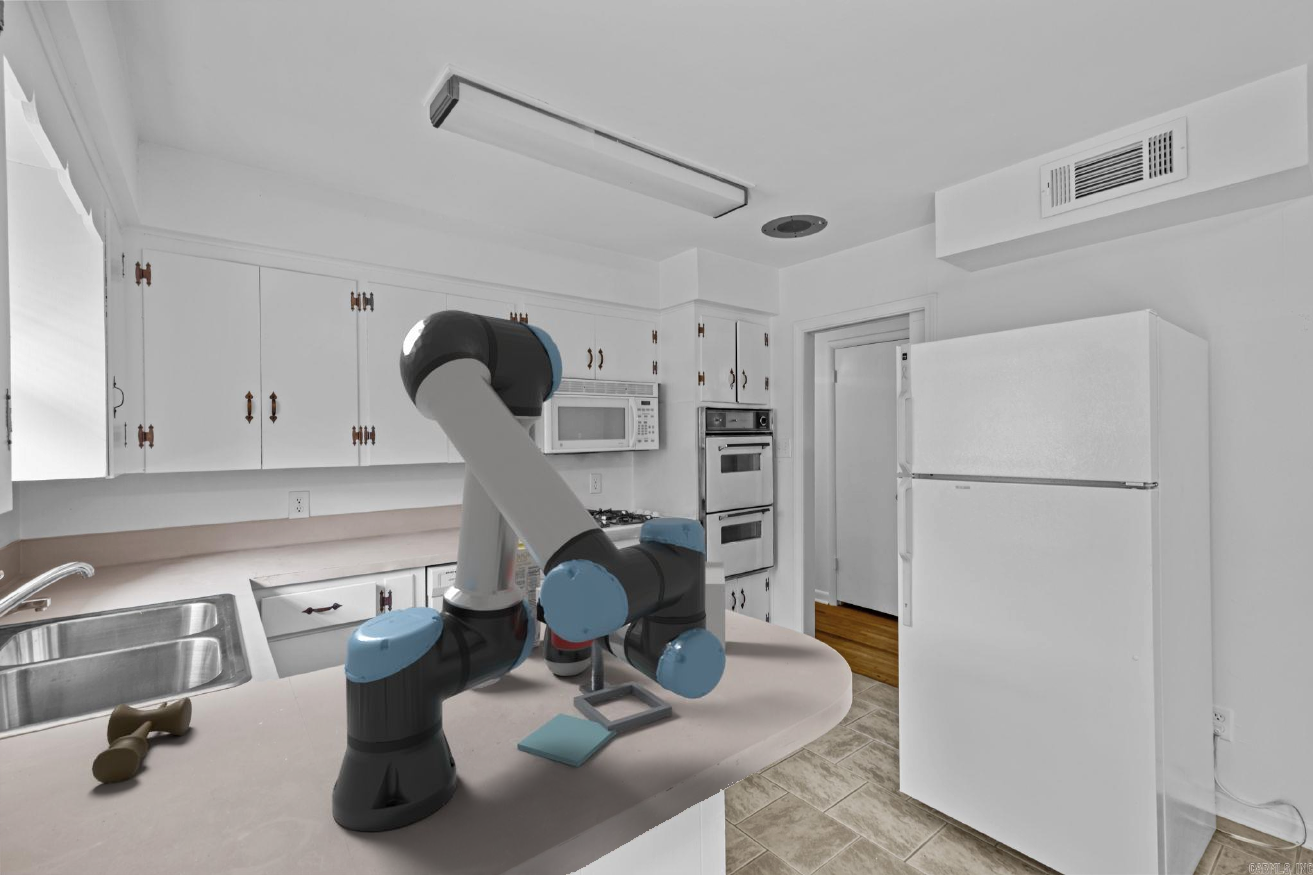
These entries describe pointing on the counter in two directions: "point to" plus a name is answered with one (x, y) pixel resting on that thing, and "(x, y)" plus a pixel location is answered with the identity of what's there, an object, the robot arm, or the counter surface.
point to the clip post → (596, 671)
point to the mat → (566, 739)
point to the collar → (625, 723)
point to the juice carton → (528, 583)
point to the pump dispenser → (564, 657)
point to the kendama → (137, 737)
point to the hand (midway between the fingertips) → (559, 592)
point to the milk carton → (715, 600)
